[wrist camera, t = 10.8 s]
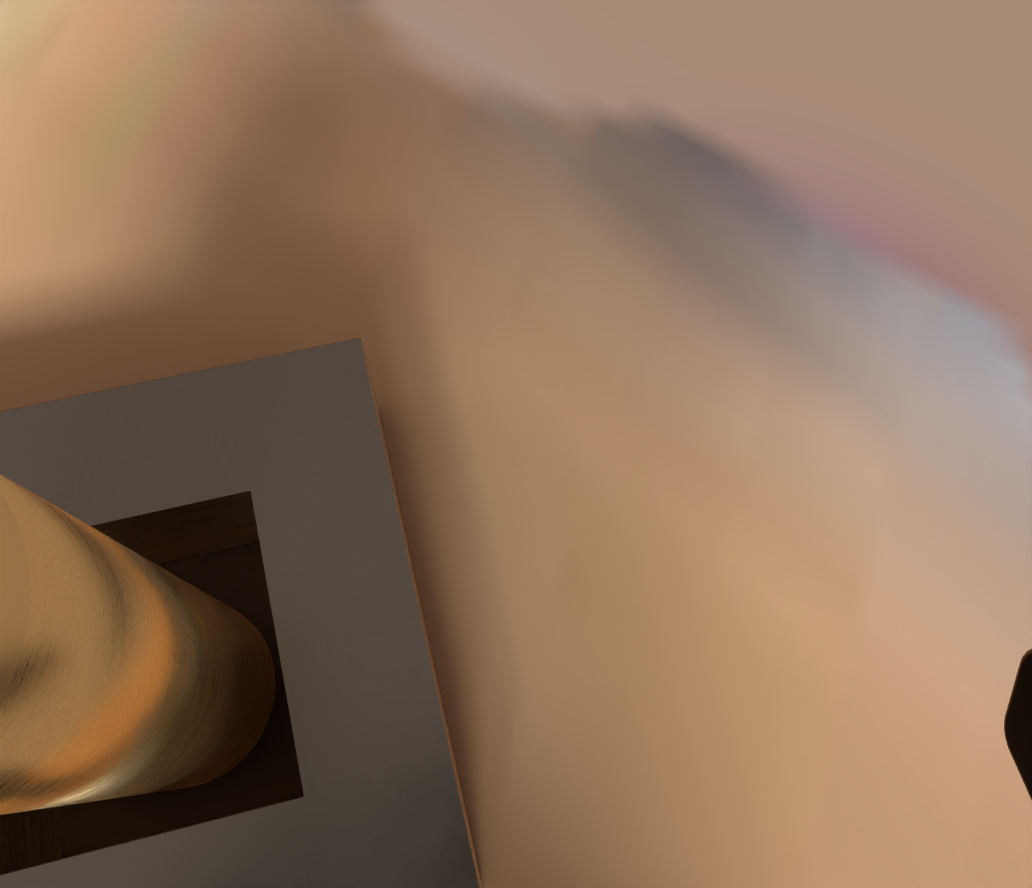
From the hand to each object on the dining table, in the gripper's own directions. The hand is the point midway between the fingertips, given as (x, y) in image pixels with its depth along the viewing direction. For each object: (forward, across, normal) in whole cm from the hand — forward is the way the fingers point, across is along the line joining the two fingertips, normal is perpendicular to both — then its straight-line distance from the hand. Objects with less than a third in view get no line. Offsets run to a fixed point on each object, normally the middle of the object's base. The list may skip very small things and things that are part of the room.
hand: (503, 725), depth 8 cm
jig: (+11, +6, +8) cm, 15 cm away
